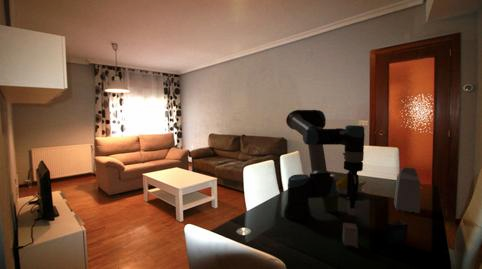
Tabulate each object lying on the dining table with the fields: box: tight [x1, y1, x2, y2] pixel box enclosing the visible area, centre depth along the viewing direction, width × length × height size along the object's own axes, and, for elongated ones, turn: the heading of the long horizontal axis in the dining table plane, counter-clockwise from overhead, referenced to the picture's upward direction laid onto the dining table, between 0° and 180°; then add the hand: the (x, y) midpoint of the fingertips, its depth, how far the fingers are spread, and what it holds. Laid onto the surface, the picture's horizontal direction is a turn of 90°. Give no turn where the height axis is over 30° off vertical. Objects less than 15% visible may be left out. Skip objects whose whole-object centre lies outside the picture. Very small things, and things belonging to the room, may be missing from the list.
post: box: [341, 239, 360, 250], centre depth 105 cm, size 6×6×8 cm
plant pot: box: [321, 191, 341, 213], centre depth 142 cm, size 12×12×11 cm
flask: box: [386, 219, 409, 245], centre depth 107 cm, size 9×3×11 cm, turn 95°
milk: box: [393, 166, 421, 214], centre depth 145 cm, size 12×12×26 cm
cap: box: [341, 222, 359, 246], centre depth 104 cm, size 5×5×8 cm
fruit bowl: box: [335, 175, 366, 196], centre depth 176 cm, size 28×27×11 cm
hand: (351, 213), depth 104 cm, fingers open, 3 cm apart
